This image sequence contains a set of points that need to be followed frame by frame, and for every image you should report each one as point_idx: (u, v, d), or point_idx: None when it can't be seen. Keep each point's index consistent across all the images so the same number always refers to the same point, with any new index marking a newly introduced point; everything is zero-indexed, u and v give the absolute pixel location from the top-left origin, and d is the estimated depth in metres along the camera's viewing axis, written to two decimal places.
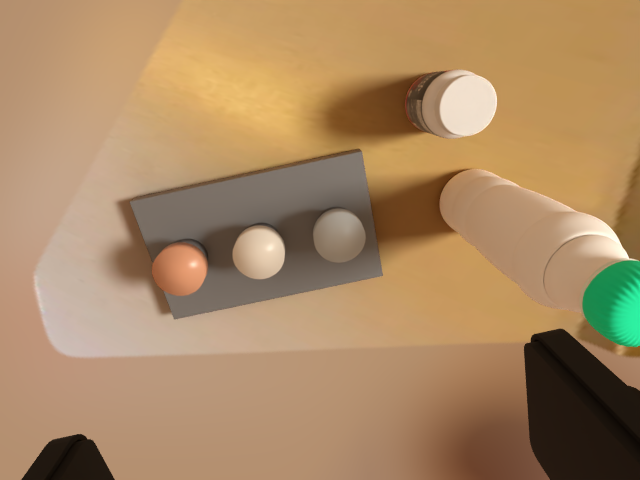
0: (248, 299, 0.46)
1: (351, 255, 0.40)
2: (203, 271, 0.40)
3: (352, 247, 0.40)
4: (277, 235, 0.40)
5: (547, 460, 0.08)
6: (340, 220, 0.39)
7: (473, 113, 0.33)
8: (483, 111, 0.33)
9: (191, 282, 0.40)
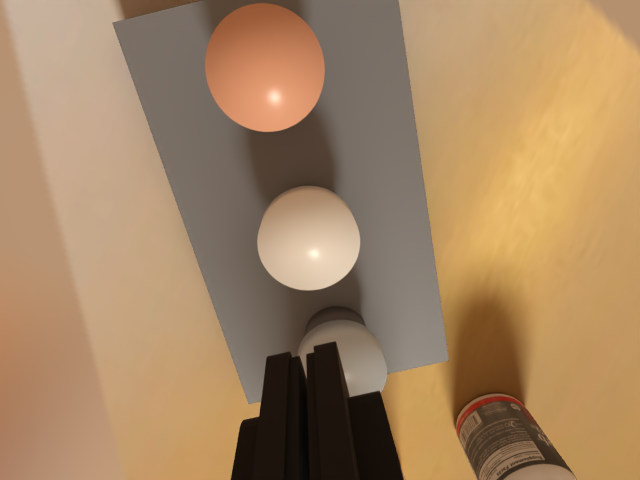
0: (183, 190, 0.23)
1: None
2: (270, 129, 0.18)
3: None
4: None
5: None
6: (375, 375, 0.23)
7: None
8: None
9: (242, 100, 0.18)
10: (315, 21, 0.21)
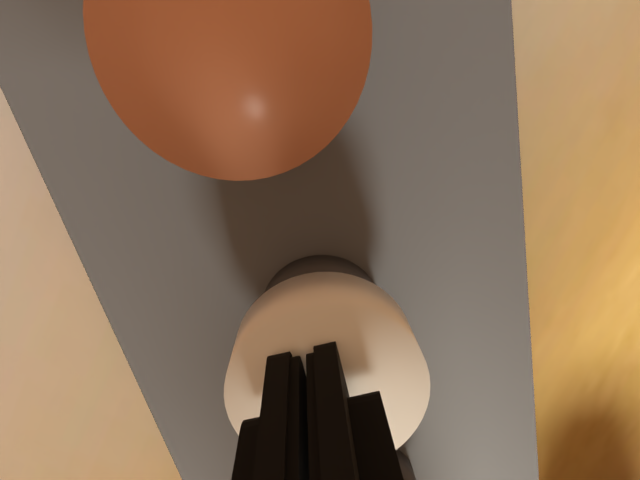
0: (102, 266, 0.13)
1: None
2: (245, 176, 0.08)
3: None
4: None
5: None
6: None
7: None
8: None
9: (178, 109, 0.08)
10: None
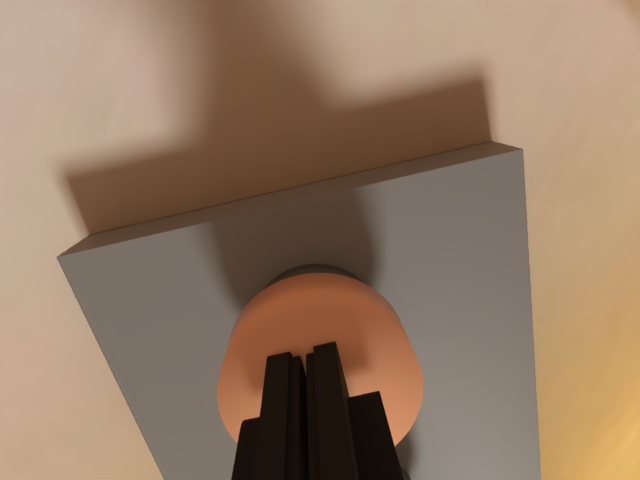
0: (175, 468, 0.15)
1: None
2: None
3: None
4: None
5: None
6: None
7: None
8: None
9: None
10: (389, 248, 0.13)
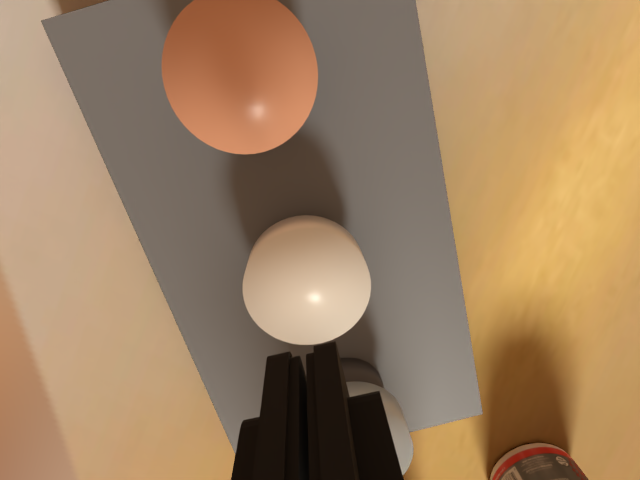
0: (148, 229, 0.19)
1: None
2: (251, 151, 0.14)
3: None
4: None
5: None
6: (398, 452, 0.18)
7: None
8: None
9: (212, 115, 0.14)
10: (304, 8, 0.16)
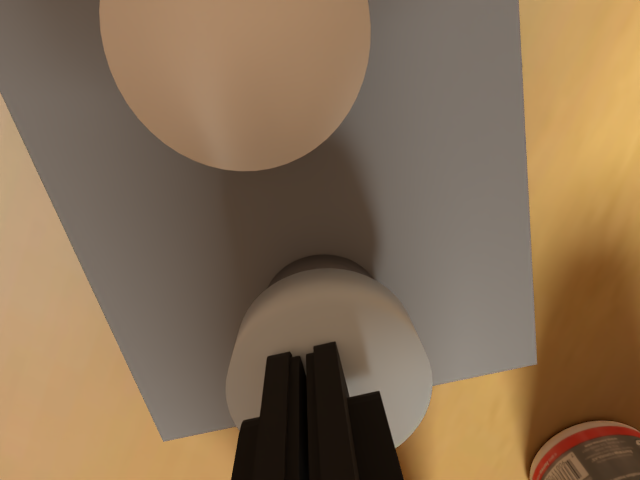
0: None
1: None
2: None
3: None
4: None
5: None
6: (404, 391, 0.10)
7: None
8: None
9: None
10: None
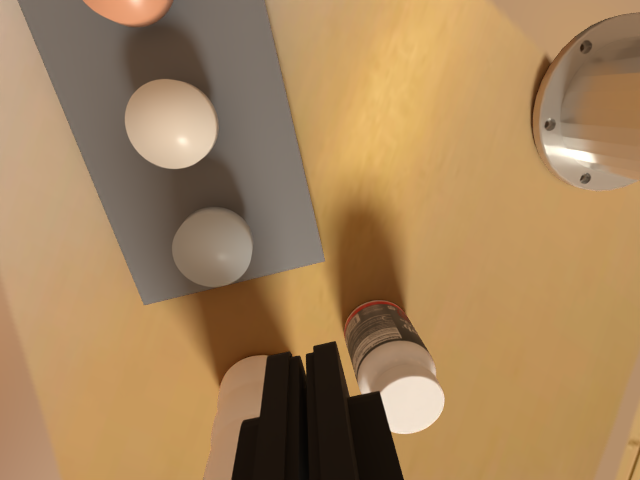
0: (66, 93, 0.26)
1: (186, 269, 0.27)
2: (127, 20, 0.22)
3: (199, 270, 0.27)
4: (206, 154, 0.25)
5: None
6: (241, 250, 0.27)
7: (401, 412, 0.27)
8: (402, 422, 0.27)
9: None
10: None
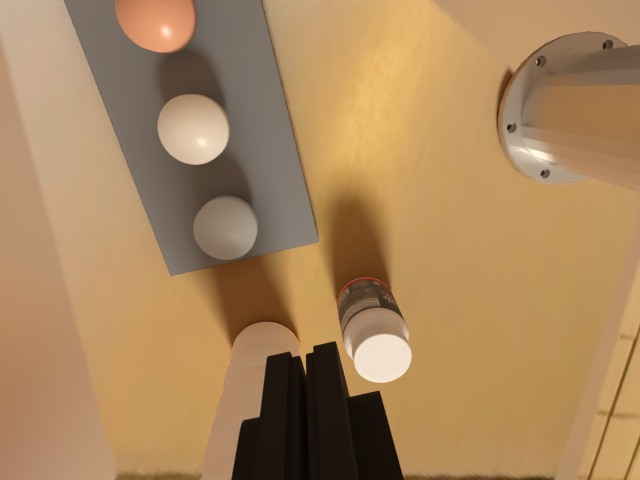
0: (111, 104, 0.33)
1: (204, 245, 0.33)
2: (160, 49, 0.28)
3: (214, 246, 0.33)
4: (220, 153, 0.32)
5: None
6: (247, 230, 0.33)
7: (375, 364, 0.33)
8: (377, 372, 0.33)
9: (140, 29, 0.28)
10: None
